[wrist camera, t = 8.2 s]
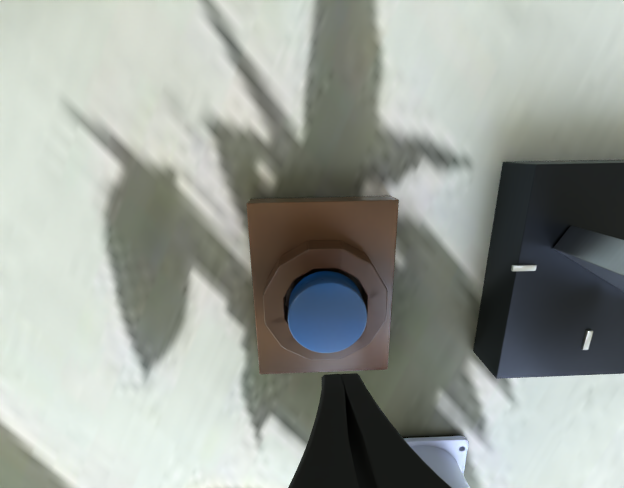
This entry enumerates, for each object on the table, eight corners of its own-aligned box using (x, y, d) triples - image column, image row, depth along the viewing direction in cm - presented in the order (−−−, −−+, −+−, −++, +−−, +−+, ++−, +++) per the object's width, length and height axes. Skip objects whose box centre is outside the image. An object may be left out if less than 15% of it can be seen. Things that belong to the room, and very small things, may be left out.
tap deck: (617, 345, 24) (661, 374, 21) (468, 351, 24) (492, 380, 21) (675, 158, 20) (741, 160, 17) (496, 161, 20) (532, 164, 17)
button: (360, 334, 20) (366, 352, 18) (290, 337, 20) (289, 355, 18) (362, 269, 18) (369, 281, 17) (287, 271, 18) (286, 283, 17)
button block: (381, 354, 24) (395, 388, 20) (262, 359, 24) (255, 393, 20) (391, 195, 20) (409, 205, 17) (250, 198, 20) (240, 208, 17)
